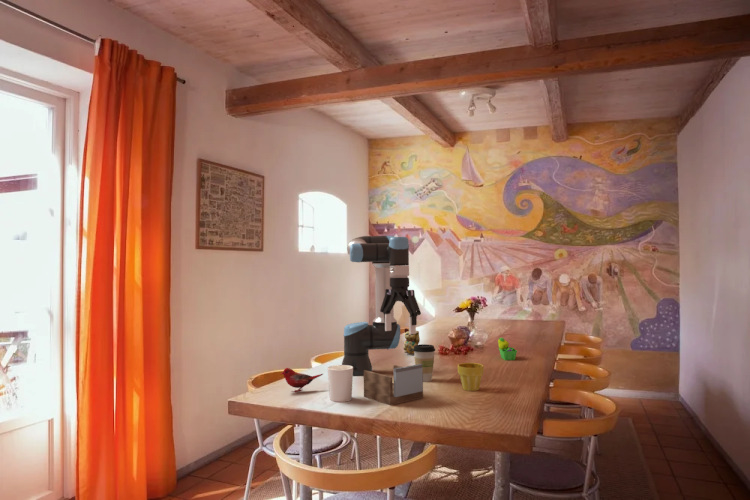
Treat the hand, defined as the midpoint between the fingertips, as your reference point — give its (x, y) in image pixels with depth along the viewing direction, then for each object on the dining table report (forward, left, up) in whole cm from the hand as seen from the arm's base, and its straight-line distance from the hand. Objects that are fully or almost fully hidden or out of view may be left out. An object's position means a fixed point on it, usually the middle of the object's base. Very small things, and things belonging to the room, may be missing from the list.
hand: (400, 332), depth 198 cm
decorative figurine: (-67, +67, -25) cm, 97 cm away
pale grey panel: (+5, -1, -22) cm, 23 cm away
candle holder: (-14, -18, -25) cm, 34 cm away
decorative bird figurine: (-34, -23, -25) cm, 48 cm away
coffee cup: (-16, +28, -25) cm, 41 cm away
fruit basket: (-24, +96, -25) cm, 102 cm away
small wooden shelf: (-3, -1, -25) cm, 25 cm away
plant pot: (+8, +31, -25) cm, 41 cm away
